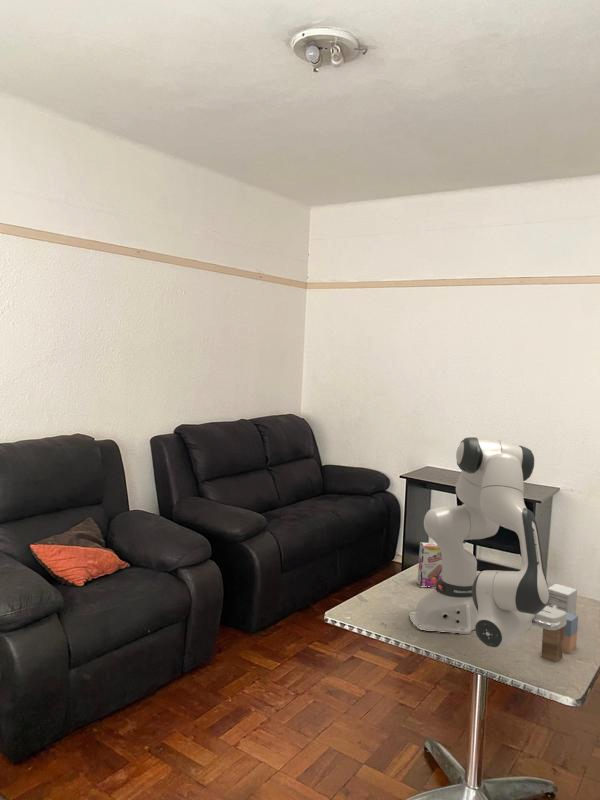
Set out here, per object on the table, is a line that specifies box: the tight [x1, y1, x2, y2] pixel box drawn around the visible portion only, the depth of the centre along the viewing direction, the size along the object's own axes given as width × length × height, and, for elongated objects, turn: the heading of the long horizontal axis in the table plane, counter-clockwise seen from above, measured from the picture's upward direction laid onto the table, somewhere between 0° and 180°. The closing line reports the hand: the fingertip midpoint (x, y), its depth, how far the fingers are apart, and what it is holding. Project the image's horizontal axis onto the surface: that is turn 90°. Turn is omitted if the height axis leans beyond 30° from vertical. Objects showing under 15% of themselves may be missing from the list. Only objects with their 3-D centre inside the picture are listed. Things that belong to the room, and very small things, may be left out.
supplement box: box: [546, 583, 578, 615], centre depth 210 cm, size 7×7×13 cm
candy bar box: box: [417, 542, 442, 587], centre depth 243 cm, size 11×5×16 cm, turn 94°
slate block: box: [564, 613, 579, 637], centre depth 194 cm, size 6×6×5 cm
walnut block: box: [541, 627, 564, 663], centre depth 188 cm, size 4×4×10 cm
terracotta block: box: [563, 631, 578, 654], centre depth 195 cm, size 6×6×5 cm
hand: (537, 602), depth 177 cm, fingers open, 8 cm apart
